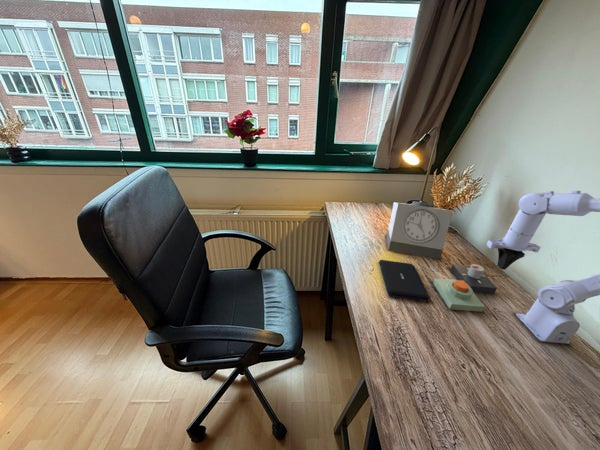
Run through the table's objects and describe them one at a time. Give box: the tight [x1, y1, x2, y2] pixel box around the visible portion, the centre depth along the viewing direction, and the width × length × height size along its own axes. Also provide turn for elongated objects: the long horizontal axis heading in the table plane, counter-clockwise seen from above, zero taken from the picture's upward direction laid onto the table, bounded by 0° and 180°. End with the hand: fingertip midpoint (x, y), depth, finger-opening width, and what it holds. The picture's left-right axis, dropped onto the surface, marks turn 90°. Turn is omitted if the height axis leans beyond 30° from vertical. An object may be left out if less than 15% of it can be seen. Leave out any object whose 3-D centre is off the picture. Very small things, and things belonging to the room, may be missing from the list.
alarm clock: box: [385, 200, 454, 260], centre depth 104 cm, size 20×16×20 cm
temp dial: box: [467, 263, 485, 279], centre depth 87 cm, size 4×4×4 cm
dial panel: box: [450, 264, 498, 294], centre depth 88 cm, size 12×9×3 cm
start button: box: [453, 279, 469, 292], centre depth 79 cm, size 4×4×2 cm
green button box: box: [432, 277, 486, 313], centre depth 80 cm, size 12×10×4 cm
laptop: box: [378, 259, 431, 302], centre depth 86 cm, size 16×20×2 cm
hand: (501, 267), depth 80 cm, fingers closed
